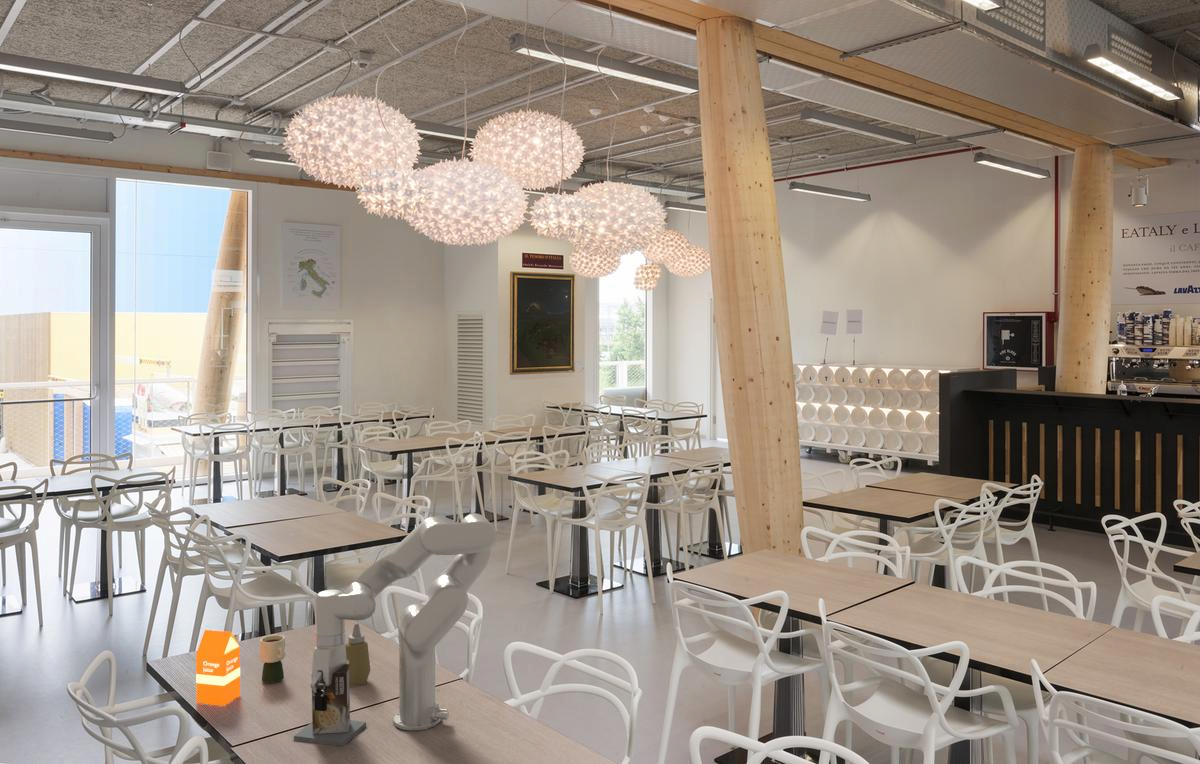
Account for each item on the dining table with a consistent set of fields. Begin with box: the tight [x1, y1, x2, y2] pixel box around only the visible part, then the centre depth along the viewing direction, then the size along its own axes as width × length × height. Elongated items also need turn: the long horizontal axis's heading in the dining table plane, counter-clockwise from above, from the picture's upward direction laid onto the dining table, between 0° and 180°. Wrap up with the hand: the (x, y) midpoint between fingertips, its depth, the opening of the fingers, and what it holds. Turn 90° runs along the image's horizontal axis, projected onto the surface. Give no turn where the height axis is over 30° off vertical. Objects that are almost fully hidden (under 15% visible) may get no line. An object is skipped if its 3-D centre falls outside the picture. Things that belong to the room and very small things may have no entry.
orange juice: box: [195, 629, 241, 707], centre depth 248 cm, size 8×9×20 cm
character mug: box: [259, 634, 286, 684], centre depth 263 cm, size 11×7×13 cm, turn 52°
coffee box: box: [311, 664, 351, 734], centre depth 228 cm, size 9×6×16 cm
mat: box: [293, 719, 367, 747], centre depth 229 cm, size 14×12×1 cm
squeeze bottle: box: [345, 622, 371, 687], centre depth 262 cm, size 8×8×18 cm
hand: (330, 702), depth 229 cm, fingers open, 9 cm apart
